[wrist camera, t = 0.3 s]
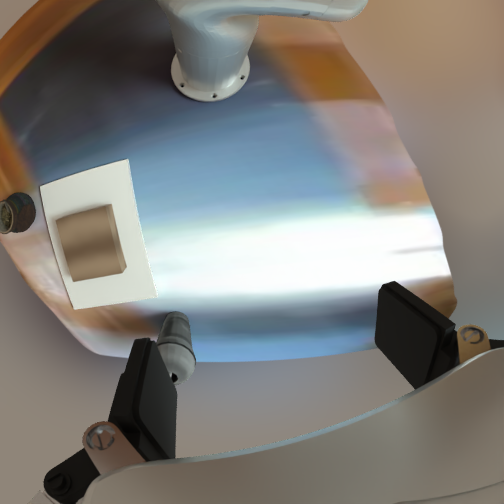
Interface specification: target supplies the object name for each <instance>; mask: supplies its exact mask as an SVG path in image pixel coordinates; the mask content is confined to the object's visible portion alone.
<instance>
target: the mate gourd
mask: <svg viewBox="0 0 504 504" xmlns="http://www.w3.org/2000/svg"><path fill="white" fill-rule="evenodd" d="M35 215H36V210H35V206H34V202H33V200H32V199H31V197H30V196H29V195H27V194H24V193H14V194H12V195H11V196H9V197H8V198H7V199H6V200H3V201H1V202H0V233H2V234H8V233H9V232H14V233H18V232H24V231H26V230H27V229H28V228H29V227H30V226H31V224H32V223H33V222H34V219H35Z"/></svg>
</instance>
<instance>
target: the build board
mask: <svg viewBox="0 0 504 504" xmlns="http://www.w3.org/2000/svg"><path fill="white" fill-rule="evenodd" d="M40 190H41V196H42V201H43V207H44V211H45V216H46V221H47V225H48V229H49V233H50V237H51V241H52V245H53V248H54V252H55V255H56V259H57V262H58V265H59V268H60V271H61V274H62V277H63V280H64V283H65V286H66V289H67V292H68V294H69V297H70V300H71V302H72V305H73V308H74V310H75V309H83V308H90V307H97V306H104V305H111V304H118V303H124V302H131V301H138V300H144V299H150V298H157V297H158V292H157V289H156V285H155V282H154V278H153V274H152V271H151V267H150V263H149V259H148V255H147V251H146V247H145V242H144V238H143V234H142V229H141V225H140V220H139V215H138V210H137V205H136V200H135V195H134V189H133V183H132V178H131V171H130V165H129V159H126V160H122V161H118V162H114V163H111V164H107V165H104V166H100V167H97V168H93V169H90V170H87V171H83V172H80V173H77V174H74V175H71V176H68V177H65V178H62V179H59V180H56V181H54V182H51V183H48V184H45V185H43V186H40ZM109 204H112V207H113V212H114V217H115V221H116V226H117V230H118V234H119V239H120V243H121V247H122V251H123V254H124V258H125V262H126V265H127V267H126V269H125V270H124V272H123V273H121V274H116V275H110V276H105V277H99V278H94V279H88V280H82V281H77V282H73V281H72V278H71V275H70V272H69V268H68V265H67V262H66V259H65V255H64V252H63V248H62V245H61V241H60V237H59V233H58V229H57V225H56V220H57V219H59V218H62V217H64V216H68V215H71V214H75V213H78V212H82V211H86V210H89V209H93V208H97V207H101V206H105V205H109Z"/></svg>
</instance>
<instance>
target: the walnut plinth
mask: <svg viewBox="0 0 504 504" xmlns="http://www.w3.org/2000/svg"><path fill="white" fill-rule="evenodd" d="M56 225H57V229H58V233H59V237H60V241H61V245H62V248H63V252H64V255H65V259H66V262H67V265H68V268H69V272H70V275H71V278H72V281H73V282H77V281H82V280H88V279H94V278H99V277H105V276H110V275H116V274H121V273H123V272H124V270H125V269H126V267H127V265H126V262H125V258H124V254H123V251H122V247H121V243H120V239H119V234H118V230H117V226H116V221H115V217H114V212H113V207H112V204H109V205H105V206H101V207H97V208H93V209H89V210H86V211H82V212H78V213H75V214H71V215H68V216H64V217H62V218H59V219H57V220H56Z"/></svg>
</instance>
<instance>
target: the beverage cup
mask: <svg viewBox="0 0 504 504" xmlns="http://www.w3.org/2000/svg"><path fill="white" fill-rule="evenodd" d="M156 344H157V347H158V349H159V351H160V354H161V356H162V359H163V361H164V363H165V366H166V368H167V370H168V372H169V375H170V377H171V379H172V381H173V383H174V385H179V384H181V383H184V382H185V381H187V379H189V378H190V377H191V375H192V373H193V371H194V368H195V365H196V358H195V355H194V352H193V349H192V342H191V333H190V325H189V320H188V318H187V316H186V315H185V314H183V313H181V312H171V313H169V314H168V315H167V316H166V319H165V321H164V323H163V326H162V329H161V331H160V334H159V337H158V339H157V342H156Z"/></svg>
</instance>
